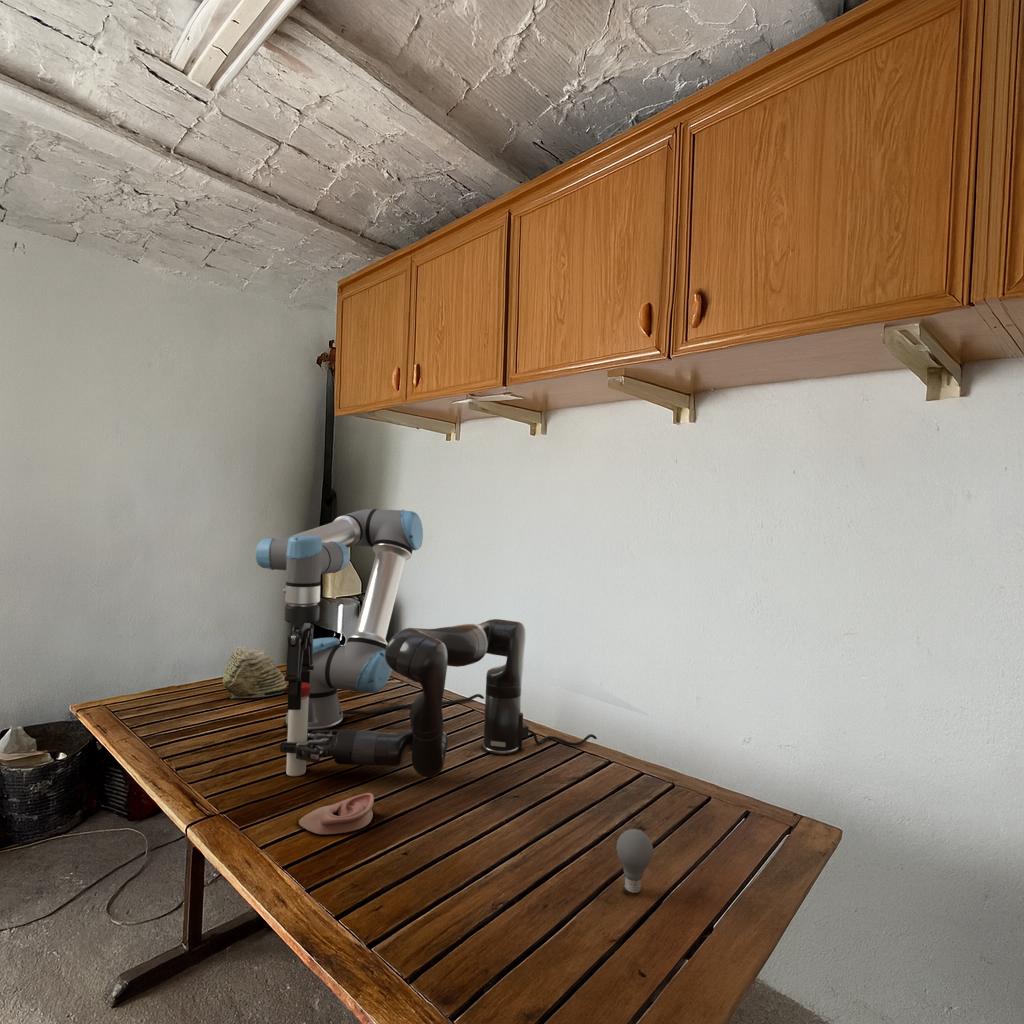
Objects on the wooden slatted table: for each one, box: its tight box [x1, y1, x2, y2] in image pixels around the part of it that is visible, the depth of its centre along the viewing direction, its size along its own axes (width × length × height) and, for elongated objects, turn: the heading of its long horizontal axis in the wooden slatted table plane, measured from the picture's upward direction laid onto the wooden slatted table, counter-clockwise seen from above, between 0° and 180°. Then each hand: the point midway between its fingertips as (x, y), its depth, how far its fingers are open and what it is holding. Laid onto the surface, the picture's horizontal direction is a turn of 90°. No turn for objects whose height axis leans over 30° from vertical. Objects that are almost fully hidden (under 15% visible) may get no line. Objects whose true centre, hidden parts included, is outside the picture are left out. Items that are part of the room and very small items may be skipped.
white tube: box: [285, 696, 309, 777], centre depth 145 cm, size 4×4×19 cm
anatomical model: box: [298, 792, 375, 835], centre depth 124 cm, size 13×4×12 cm
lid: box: [301, 682, 310, 697], centre depth 145 cm, size 5×5×2 cm
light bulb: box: [615, 828, 654, 894], centre depth 106 cm, size 6×6×10 cm
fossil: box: [222, 646, 288, 699], centre depth 198 cm, size 9×18×15 cm, turn 132°
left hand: (298, 703), depth 145 cm, fingers open, 7 cm apart
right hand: (285, 742), depth 145 cm, fingers closed on white tube, 4 cm apart
